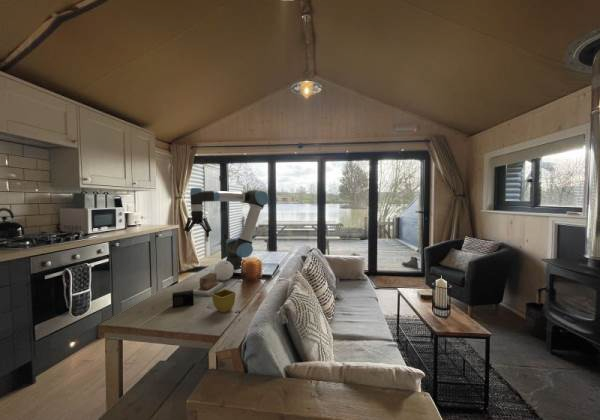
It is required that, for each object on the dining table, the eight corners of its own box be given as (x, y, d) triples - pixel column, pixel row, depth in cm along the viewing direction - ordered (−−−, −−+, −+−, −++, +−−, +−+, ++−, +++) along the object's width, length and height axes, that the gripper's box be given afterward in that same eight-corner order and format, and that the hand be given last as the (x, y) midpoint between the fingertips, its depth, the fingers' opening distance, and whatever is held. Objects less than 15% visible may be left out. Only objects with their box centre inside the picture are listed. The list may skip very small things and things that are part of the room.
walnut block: (200, 291, 165) (199, 278, 165) (210, 285, 176) (210, 272, 175) (206, 291, 164) (206, 278, 164) (216, 285, 175) (216, 273, 174)
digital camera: (172, 309, 142) (171, 296, 142) (172, 305, 147) (172, 292, 147) (193, 306, 146) (193, 293, 146) (193, 302, 151) (193, 289, 151)
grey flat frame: (208, 283, 182) (208, 280, 181) (227, 285, 178) (227, 282, 178) (188, 294, 162) (188, 291, 162) (209, 296, 159) (209, 293, 159)
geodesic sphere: (242, 271, 190) (233, 254, 193) (227, 276, 178) (217, 258, 182) (230, 280, 196) (222, 264, 200) (215, 286, 185) (206, 268, 188)
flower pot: (222, 315, 134) (221, 297, 134) (211, 311, 140) (211, 293, 139) (236, 309, 141) (236, 292, 141) (225, 305, 147) (225, 288, 146)
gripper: (177, 210, 187) (178, 241, 188) (209, 211, 180) (210, 243, 182) (184, 210, 194) (186, 239, 195) (216, 210, 187) (217, 241, 189)
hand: (198, 241), depth 188 cm, fingers open, 13 cm apart
